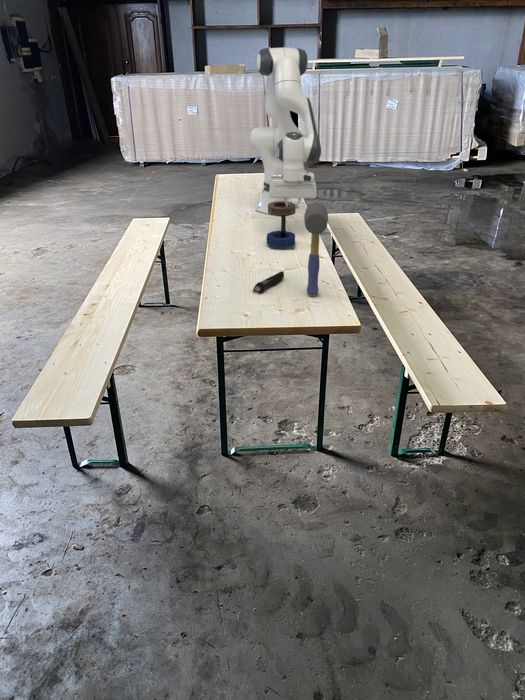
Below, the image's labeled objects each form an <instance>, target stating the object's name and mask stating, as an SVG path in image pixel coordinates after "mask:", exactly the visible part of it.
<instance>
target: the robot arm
mask: <svg viewBox="0 0 525 700" xmlns="http://www.w3.org/2000/svg"><path fill="white" fill-rule="evenodd" d="M308 64H309V59H308V54H307V52H306V50H305V49H304V48H300V47H299V48H295V47H285V46H283V47H264V48H261V49H260V50H259V51H258V53H257V56H256V69H257V71H258V73H259V74H260V75H261V76H263V77H266V79H265V80H266V81H265V90H264V112H265V114H266V115H267V116H268V117H269V118H271V119H272V120H274V121H275V122H276V124H277V126H260V127H254V128H253V129H252V130H251V131H250V133H249V136H248V142H249V145H250V147H251V148H252V150H253V151H254V152H256V153H257V154H258V157H260V159H261V161H262V162H261V163H262V165H263V174H264V181H263V184H262V185H263V186H262V187H263V190H262V192H261V193H260V202H259V204H258V207H257V208H256V211H257V212H261V213H263V214H267V215H269V214H268V204H269V203H271V202H276V201H284V202H285V203H286V207H288V206H290V203H288V202H292V200H291V199H297V202H296V203H294V204H295V209H299V205H300V203H301V201H302V199H316V198H317V196H318V195H317V194H318V192H317V183H316V180H315V174H314V173H313V172H312V171H309V170H306V169H305V165H304V163H308V164H314V163H316V162H317V161H318V160H319V159H320V158H321V156H322V145H321V141H320V139H319V134H318V130H317V124H316V120H315V116H314V110H313V106H312V103H311V100H310V98H309V97H307V96H306V95H305V94H304V91H303V88H302V78H301V76H303V75H304V74H305V73H306V72H307V69H308ZM291 112H293V113H295V114H297V115H299V116H300V117H301V118H302V120H303V123H304V128H305V133H306V137H304V135H303V132H302V131H301V129H299V128H298V127H297V125H296V124H295V123H294V121H293V118H292V115H291Z"/></svg>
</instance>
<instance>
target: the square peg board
mask: <svg viewBox="0 0 525 700" xmlns="http://www.w3.org/2000/svg"><path fill="white" fill-rule="evenodd" d="M280 218H281V219H280V231H281V238H285V231H287V230H286V225H287V224H286V223H287V222H286V221H287V216H286V214H281V216H280ZM294 249H295V244H294V245H292V246H289V247H273V246H271V250H294Z"/></svg>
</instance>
